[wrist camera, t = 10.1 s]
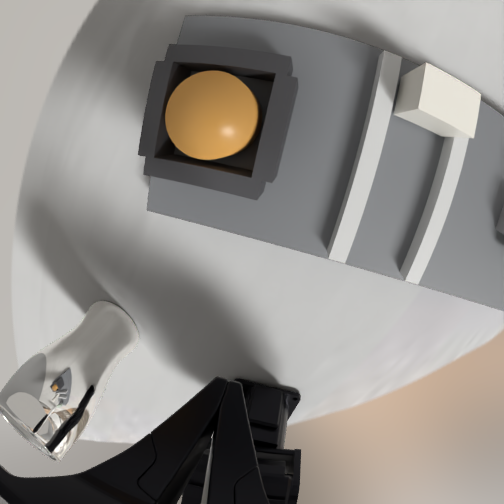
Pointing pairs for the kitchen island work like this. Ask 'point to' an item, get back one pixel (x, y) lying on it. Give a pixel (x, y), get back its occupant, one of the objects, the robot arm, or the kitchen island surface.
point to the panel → (333, 160)
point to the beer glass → (68, 380)
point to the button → (213, 115)
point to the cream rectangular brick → (438, 102)
